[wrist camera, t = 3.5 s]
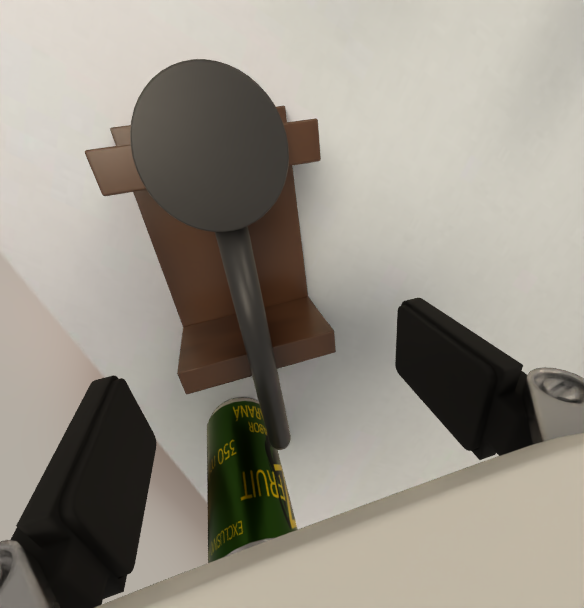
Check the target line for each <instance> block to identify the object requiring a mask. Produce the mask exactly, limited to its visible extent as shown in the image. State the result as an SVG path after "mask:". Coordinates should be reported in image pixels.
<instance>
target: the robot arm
mask: <svg viewBox="0 0 584 608" xmlns="http://www.w3.org/2000/svg"><path fill="white" fill-rule="evenodd" d="M395 365H396V369H397V372H398V373H399V375H400V376H401V377H402V378H403V379H404V381H405V382H406V383H407V384H408V385H409V386H410V387H411V388H412V390H413V391H414V392H415V393H416V394H417V395H418V396H419V398H420V399H421V400H422V401H423V402H424V403H425V404H426V405H427V407H428V408H429V409H430V410H431V411H432V412H433V413H434V415H435V416H436V417H437V418H438V419H439V420H440V421H441V422H442V424H443V425H444V426H445V427H446V428H447V429H448V430H449V432H450V433H451V434H452V435H453V436H454V437H455V438H456V439H457V441H458V442H459V443H460V444H461V445H462V446H463V447H464V448H465V449H466V450H468V451H472V452H473V453H474V454H475V455H476V456H477V458H478V459H479V460H482V459H484V458H487V457H490V456H492V455H495V454H496V453H497V454H498V455H499V456H498V457H495V458H492V459H489V460H487V461H484V462H481V463H478V464H475V465H473V466H470V467H467V468H464V469H462V470H459V471H456V472H453V473H451V474H448V475H445V476H442V477H440V478H437V479H434V480H431V481H429V482H426V483H423V484H420V485H418V486H415V487H412V488H409V489H406V490H404V491H401V492H398V493H396V494H393V495H390V496H387V497H385V498H382V499H379V500H377V501H374V502H371V503H368V504H366V505H363V506H360V507H358V508H355V509H352V510H349V511H347V512H344V513H341V514H339V515H336V516H333V517H331V518H328V519H325V520H322V521H320V522H317V523H314V524H312V525H309V526H306V527H304V528H301V529H298V530H296V531H293V532H290V533H287V534H285V535H282V536H279V537H277V538H274V539H271V540H269V541H266V542H263V543H261V544H258V545H255V546H253V547H250V548H247V549H245V550H242V551H239V552H237V553H234V554H232V555H229V556H226V557H224V558H221V559H218V560H216V561H213V562H210V563H208V564H205V565H202V566H200V567H197V568H194V569H192V570H189V571H187V572H184V573H181V574H178V575H176V576H173V577H171V578H168V579H165V580H163V581H160V582H158V583H155V584H153V585H150V586H148V587H145V588H143V589H140V590H138V591H135V592H133V593H130V594H128V595H125V596H122V597H120V598H117V599H115V600H113V601H110V602H107V603H105V604H102V600H103V599H105V598H107V597H110V596H113V595H116V594H118V593H121V592H124V587H125V582H126V577H127V574H130V573H131V572H132V570H133V568H134V565H135V560H136V555H137V548H138V543H139V538H140V533H141V527H142V521H143V516H144V510H145V505H146V500H147V494H148V489H149V484H150V478H151V473H152V467H153V461H154V456H155V450H156V438H155V435H154V433H153V431H152V429H151V427H150V426H149V424H148V422H147V420H146V418H145V416H144V414H143V413H142V411H141V409H140V407H139V405H138V403H137V401H136V400H135V398H134V396H133V394H132V392H131V390H130V388H129V387H128V385H127V383H126V381H125V380H124V379H122V378H121V379H118V377H116V376H110V377H106V378H102V379H98V380H95V381H93V382H92V383H91V385H90V386H89V388H88V390H87V392H86V394H85V396H84V398H83V400H82V402H81V403H80V405H79V407H78V409H77V411H76V413H75V415H74V417H73V419H72V421H71V423H70V424H69V426H68V428H67V430H66V432H65V434H64V436H63V438H62V440H61V442H60V444H59V445H58V448H57V449H56V451H55V453H54V455H53V457H52V459H51V461H50V463H49V465H48V466H47V468H46V470H45V472H44V474H43V476H42V478H41V480H40V482H39V483H38V485H37V487H36V489H35V492H34V493H33V495H32V497H31V499H30V501H29V503H28V505H27V507H26V508H25V510H24V512H23V514H22V516H21V518H20V520H19V522H18V523H17V525H16V526H17V528H16V531H15V532H14V534H13V537H12V538H11V540H5V541H1V542H0V608H584V378H582V377H580V376H578V375H576V374H574V373H571V372H568V371H565V370H561V369H556V368H546V367H544V368H536V369H534V370H532V371H530V372H529V374H528V375H527V374H525V373H524V372H522V371H521V370H522V367H523V365H522V364H521V363H519V362H518V361H516V360H515V359H513V358H512V357H510V356H509V355H507V354H505V353H504V352H502V351H501V350H499V349H498V348H496V347H495V346H493V345H492V344H490V343H489V342H487V341H486V340H484V339H483V338H481V337H480V336H478V335H477V334H475V333H473V332H472V331H470V330H469V329H467V328H466V327H464V326H463V325H461V324H460V323H458V322H457V321H455V320H454V319H452V318H451V317H449V316H448V315H446V314H445V313H443V312H441V311H440V310H438V309H437V308H435V307H434V306H432V305H431V304H429V303H428V302H426V301H425V300H423V299H422V298H414V299H411V300H407V301H404V302H402V304H401V306H400V307H399V308H398V317H397V339H396V362H395ZM101 604H102V605H101Z"/></svg>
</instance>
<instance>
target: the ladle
mask: <svg viewBox="0 0 584 608" xmlns="http://www.w3.org/2000/svg"><path fill="white" fill-rule="evenodd" d="M130 140H131V150H132V156H133V159H134V163H135V166H136V169H137V172H138V174H139V176H140V179H141V181H142V182H143V184H144V186H145V188H146V189H147V191H148V192H149V193H150V195H151V196H152V198H153V199H154V200H155V201H156V202H157V203H158V204H159V205H160V207H162V208H163V209H164V210H165V211H166V212H167V213H168V214H170V215H171V216H173V217H174V218H175V219H177V220H179V221H180V222H182V223H184V224H186V225H188V226H191V227H194V228H196V229H200V230H204V231H211V232H215V235H216V239H217V243H218V246H219V250H220V254H221V258H222V262H223V266H224V269H225V273H226V277H227V281H228V285H229V289H230V292H231V296H232V300H233V304H234V308H235V312H236V315H237V319H238V323H239V327H240V331H241V335H242V338H243V342H244V346H245V350H246V354H247V358H248V361H249V365H250V369H251V373H252V377H253V381H254V384H255V388H256V392H257V396H258V400H259V404H260V407H261V411H262V415H263V419H264V423H265V427H266V430H267V434H268V438H269V442H270V444H271V446H272V447H273V448H275V449H277V450H282V449H285V448H286V447H287V446H288V445H289V443H290V440H291V435H290V430H289V425H288V421H287V416H286V411H285V406H284V401H283V396H282V391H281V386H280V382H279V377H278V372H277V367H276V362H275V357H274V352H273V347H272V342H271V338H270V333H269V328H268V323H267V318H266V313H265V308H264V303H263V299H262V294H261V289H260V284H259V279H258V274H257V269H256V264H255V260H254V255H253V250H252V245H251V240H250V235H249V230H248V226H249V225H251V224H252V223H254V222H256V221H257V220H259V219H260V218H261V217H263V216H264V215H265V214H266V213H267V212H268V211H269V210H270V209H271V207H272V206H273V205H274V204H275V202H276V201H277V199H278V197H279V195H280V194H281V191H282V189H283V187H284V184H285V180H286V177H287V172H288V165H289V149H288V141H287V135H286V131H285V128H284V125H283V122H282V119H281V117H280V115H279V112H278V111H277V109H276V107H275V105H274V103H273V102H272V100H271V99H270V98H269V96H268V95H267V94H266V92H265V91H264V90H263V89H262V88H261V87H260V86H259V85H258V84H257V83H256V82H255V81H254V80H253V79H251V78H250V77H249V76H248V75H246V74H245V73H243V72H241V71H240V70H238V69H236V68H234V67H232V66H230V65H228V64H224V63H221V62H218V61H213V60H206V59H193V60H188V61H182V62H179V63H176V64H174V65H171V66H169V67H168V68H166V69H164V70H162V71H161V72H160V73H158V74H157V75H156V76H155V77H154V78H152V80H151V81H150V82H149V83H148V84H147V85H146V87H145V88H144V90H143V91H142V93H141V95H140V96H139V98H138V101H137V103H136V105H135V108H134V112H133V116H132V120H131V129H130Z"/></svg>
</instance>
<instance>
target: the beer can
mask: <svg viewBox="0 0 584 608" xmlns="http://www.w3.org/2000/svg"><path fill="white" fill-rule="evenodd" d="M207 482H208V563H210V562H213V561H216V560H218V559H221V558H224V557H226V556H229V555H232V554H234V553H237V552H239V551H242V550H245V549H247V548H250V547H253V546H255V545H258V544H261V543H263V542H266V541H269V540H271V539H274V538H277V537H279V536H282V535H285V534H287V533H290V532H293V531H296V530H298V529H297V525H296V521H295V517H294V513H293V509H292V505H291V501H290V497H289V493H288V489H287V485H286V481H285V477H284V474H283V470H282V466H281V462H280V458H279V454H278V450H277V449H275V448H273V447H272V446H271V444H270V442H269V438H268V434H267V430H266V427H265V423H264V419H263V415H262V411H261V407H260V404H259V402H258V401H256V400H253V399H251V398H244V397H241V398H233V399H231V400H228V401H225V402H224V403H222V404H221V405H219V406H218V407H217V408H216V410H215V411H214V412H213V413H212V415H211V417H210V419H209V422H208V424H207Z"/></svg>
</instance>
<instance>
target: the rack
mask: <svg viewBox="0 0 584 608" xmlns="http://www.w3.org/2000/svg"><path fill="white" fill-rule="evenodd" d="M276 109H277V111H278V112H279V115H280V117H281V119H282V122H283V125H284V128H285V131H286V135H287V141H288V149H289V165H288V172H287V177H286V180H285V184H284V187H283V189H282V191H281V194H280V195H279V197H278V199H277V201H276V202H275V204H274V205H273V206H272V207H271V209H270V210H269V211H268V212H267V213H266V214H265V215H264V216H263V217H261V218H260V219H259V220H257V221H256V222H254V223H252V224H251V225H249V226H248V230H249V235H250V240H251V245H252V250H253V255H254V260H255V264H256V269H257V274H258V279H259V284H260V289H261V294H262V299H263V303H264V308H265V313H266V318H267V323H268V328H269V333H270V338H271V342H272V347H273V352H274V357H275V362H276V367H277V369H278V368H281V367H285V366H288V365H292V364H296V363H299V362H303V361H306V360H310V359H313V358H317V357H320V356H324V355H327V354H331V353H334V352H336V350H335V337H334V330H333V329H332V328H331V326H330V325H329V324H328V322H327V321H326V320H325V318H324V317H323V316H322V314H321V313H320V312H319V310H318V309H317V308H316V306H315V305H314V304H313V302H312V301H311V300H310V298H309V297H308V293H307V284H306V276H305V268H304V259H303V251H302V243H301V235H300V226H299V218H298V210H297V201H296V193H295V185H294V177H293V168H292V165H298V164H305V163H311V162H317V161H320V159H321V158H320V145H319V132H318V120H317V119H309V120H302V121H294V122H287V119H286V110H285V106H278V107H276ZM130 129H131V125H129V126H121V127H113V128H110V130H111V133H112V136H113V139H114V141H115V144H116V146H113V147H106V148H98V149H91V150H86V151H85V154H86V157H87V159H88V162H89V164H90V166H91V169H92V171H93V174H94V176H95V178H96V181H97V183H98V185H99V188H100V190H101V193H102V195H103V196H110V195H116V194H122V193H128V192H133V193H134V195H135V198H136V201H137V203H138V206H139V209H140V211H141V214H142V217H143V220H144V222H145V225H146V228H147V230H148V233H149V236H150V238H151V241H152V244H153V247H154V249H155V252H156V255H157V257H158V260H159V263H160V266H161V268H162V271H163V274H164V276H165V279H166V282H167V284H168V287H169V290H170V293H171V295H172V298H173V301H174V303H175V306H176V309H177V311H178V314H179V317H180V320H181V322H182V325H183V333H182V341H181V349H180V357H179V365H178V373H177V374H178V376H179V379H180V381H181V383H182V386H183V388H184V391H185V393H186V394H190V393H194V392H197V391H201V390H204V389H208V388H211V387H215V386H218V385H222V384H225V383H229V382H232V381H236V380H239V379H243V378H246V377H250V376H252V373H251V369H250V365H249V361H248V358H247V354H246V350H245V346H244V342H243V338H242V335H241V331H240V327H239V323H238V319H237V315H236V312H235V308H234V304H233V300H232V296H231V292H230V289H229V285H228V281H227V277H226V273H225V269H224V266H223V262H222V258H221V254H220V250H219V246H218V243H217V239H216V235H215V232H211V231H204V230H200V229H196V228H194V227H191V226H188V225H186V224H184V223H182V222H180V221H179V220H177V219H175V218H174V217H173V216H171V215H170V214H168V213H167V212H166V211H165V210H164V209H163V208H162V207H160V205H159V204H158V203H157V202H156V201H155V200H154V199H153V198H152V196H151V195H150V193H149V192H148V191H147V189H146V188H145V186H144V184H143V182H142V181H141V179H140V176H139V174H138V172H137V169H136V166H135V163H134V159H133V156H132V150H131V140H130Z"/></svg>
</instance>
